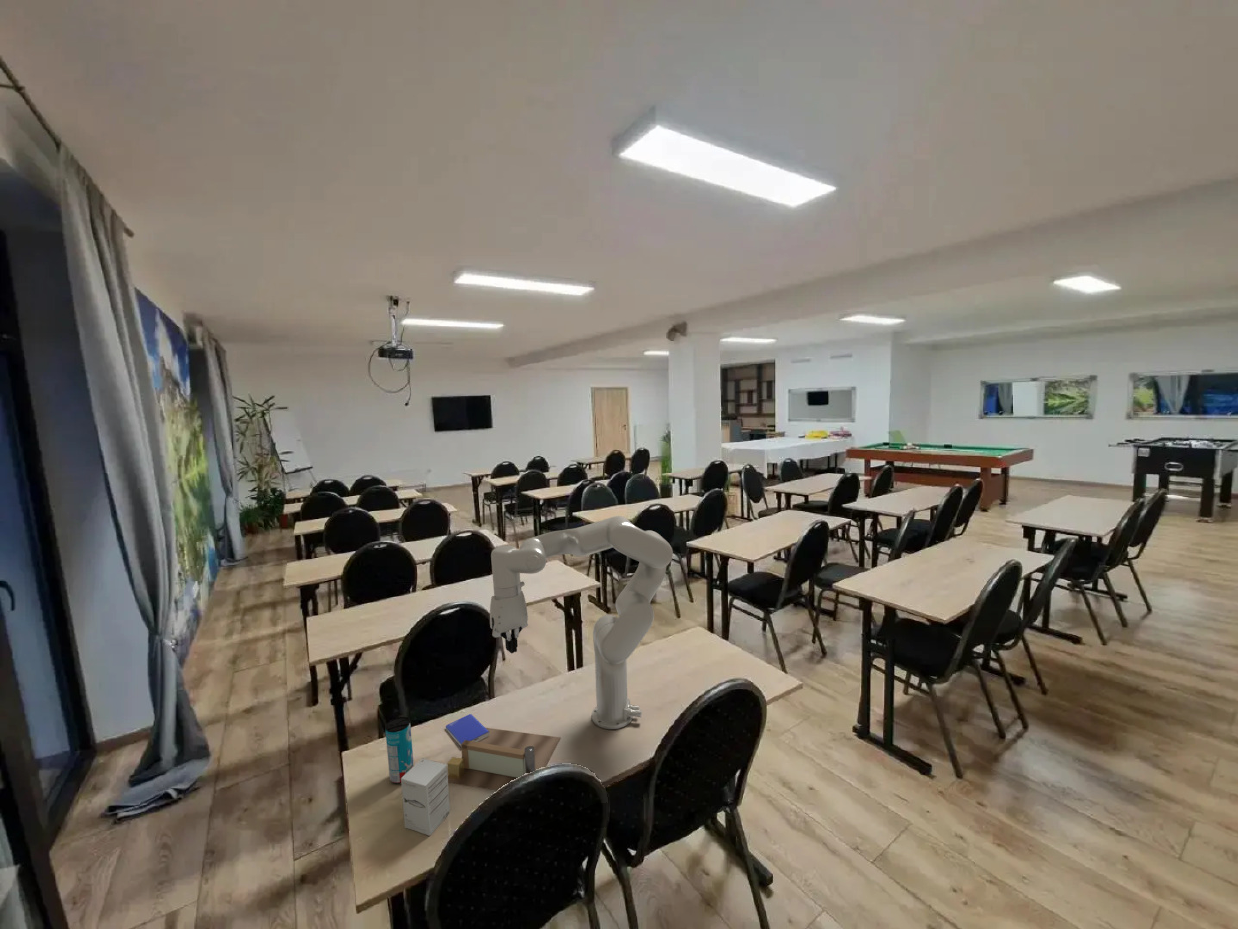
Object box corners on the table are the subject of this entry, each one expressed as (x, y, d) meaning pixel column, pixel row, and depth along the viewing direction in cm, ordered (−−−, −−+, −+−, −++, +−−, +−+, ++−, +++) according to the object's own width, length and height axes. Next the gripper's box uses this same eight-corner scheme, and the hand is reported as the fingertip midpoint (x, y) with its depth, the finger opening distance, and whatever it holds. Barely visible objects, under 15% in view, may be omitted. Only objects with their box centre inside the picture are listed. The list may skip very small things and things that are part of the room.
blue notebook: (445, 725, 150) (462, 744, 140) (471, 713, 155) (489, 730, 145) (445, 730, 150) (463, 749, 140) (471, 718, 155) (489, 735, 146)
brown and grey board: (527, 774, 129) (526, 750, 129) (524, 779, 128) (522, 755, 127) (466, 763, 134) (464, 740, 133) (462, 768, 132) (461, 744, 132)
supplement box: (403, 828, 115) (399, 778, 114) (426, 804, 122) (422, 756, 120) (429, 837, 112) (425, 786, 111) (451, 812, 119) (447, 763, 118)
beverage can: (413, 782, 129) (408, 728, 128) (388, 788, 128) (383, 733, 126) (415, 766, 135) (411, 714, 133) (391, 772, 133) (387, 719, 132)
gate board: (561, 739, 144) (561, 737, 144) (530, 798, 123) (530, 795, 123) (485, 729, 150) (484, 727, 150) (443, 783, 129) (443, 781, 128)
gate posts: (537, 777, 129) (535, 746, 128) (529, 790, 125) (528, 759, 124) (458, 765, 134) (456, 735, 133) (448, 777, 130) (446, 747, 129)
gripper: (524, 580, 151) (528, 638, 153) (477, 593, 141) (482, 655, 143) (537, 586, 145) (541, 646, 147) (488, 601, 135) (493, 665, 138)
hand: (512, 650), depth 145 cm, fingers closed
